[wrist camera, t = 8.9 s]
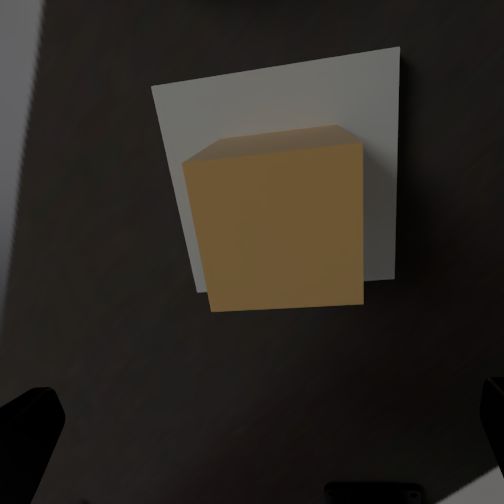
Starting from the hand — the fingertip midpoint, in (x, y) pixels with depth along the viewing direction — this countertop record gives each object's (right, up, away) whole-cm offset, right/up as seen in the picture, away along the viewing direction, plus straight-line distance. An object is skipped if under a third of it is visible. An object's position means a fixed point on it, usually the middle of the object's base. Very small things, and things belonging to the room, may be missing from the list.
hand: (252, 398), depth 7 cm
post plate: (+1, +6, +10) cm, 12 cm away
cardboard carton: (+1, +6, +9) cm, 11 cm away
